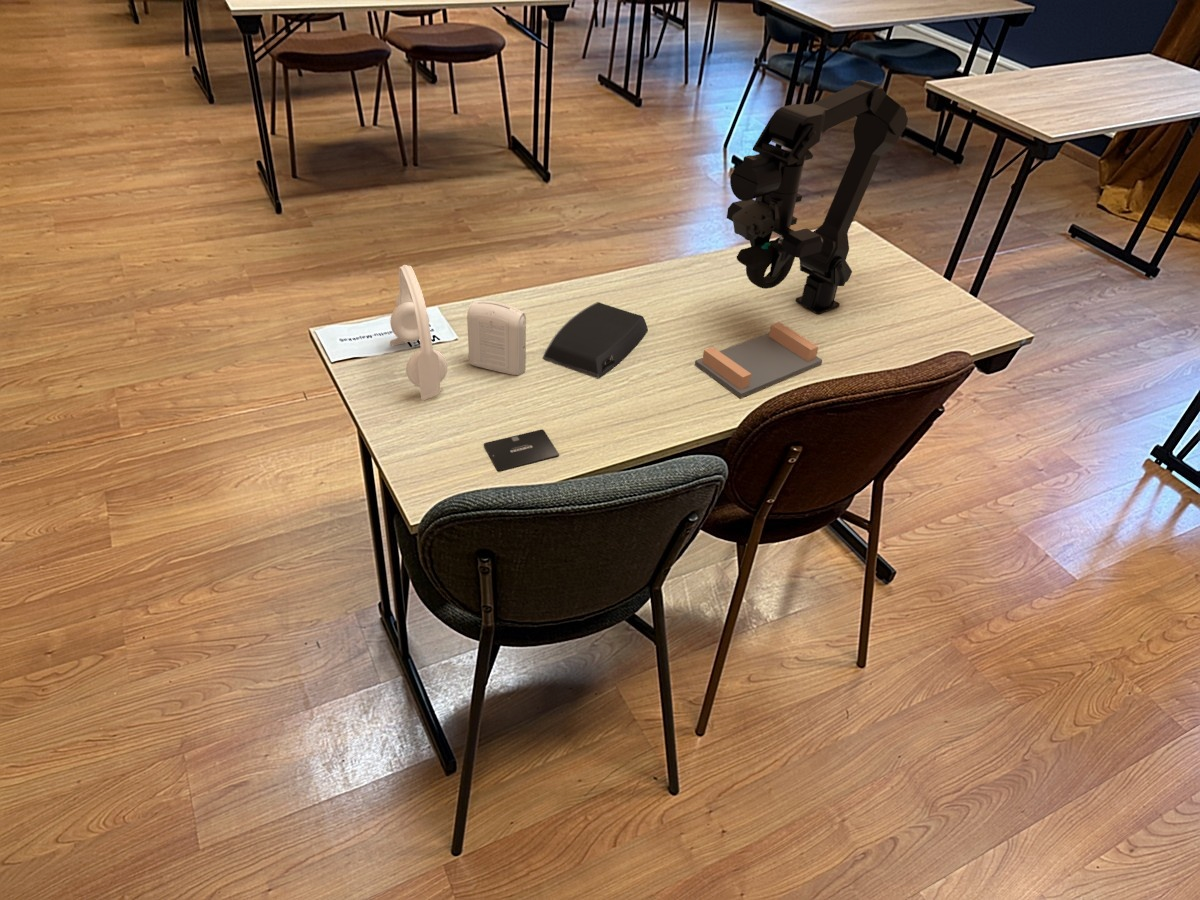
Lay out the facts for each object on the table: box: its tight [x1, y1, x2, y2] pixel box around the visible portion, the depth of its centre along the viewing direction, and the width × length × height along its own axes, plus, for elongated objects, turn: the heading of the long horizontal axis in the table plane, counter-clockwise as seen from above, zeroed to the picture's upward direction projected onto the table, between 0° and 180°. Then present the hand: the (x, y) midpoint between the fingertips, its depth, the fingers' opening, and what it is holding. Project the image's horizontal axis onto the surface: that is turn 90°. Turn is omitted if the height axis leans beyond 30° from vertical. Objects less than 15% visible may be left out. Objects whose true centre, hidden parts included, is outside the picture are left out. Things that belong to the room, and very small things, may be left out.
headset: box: [389, 264, 448, 401], centre depth 139 cm, size 20×7×18 cm, turn 20°
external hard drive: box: [541, 301, 649, 380], centre depth 153 cm, size 13×19×4 cm
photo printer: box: [466, 300, 527, 376], centre depth 143 cm, size 10×4×12 cm, turn 72°
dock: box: [694, 321, 823, 399], centre depth 150 cm, size 20×12×4 cm, turn 125°
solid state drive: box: [483, 429, 560, 472], centre depth 129 cm, size 7×10×1 cm
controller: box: [736, 236, 796, 290], centre depth 150 cm, size 4×12×10 cm, turn 122°
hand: (764, 271), depth 152 cm, fingers closed on controller, 4 cm apart
